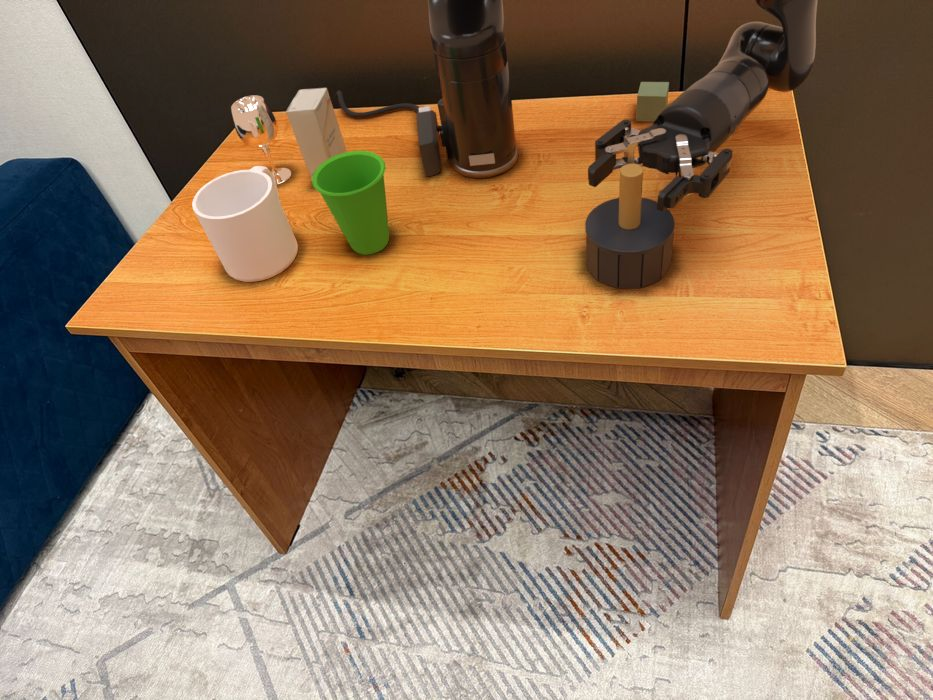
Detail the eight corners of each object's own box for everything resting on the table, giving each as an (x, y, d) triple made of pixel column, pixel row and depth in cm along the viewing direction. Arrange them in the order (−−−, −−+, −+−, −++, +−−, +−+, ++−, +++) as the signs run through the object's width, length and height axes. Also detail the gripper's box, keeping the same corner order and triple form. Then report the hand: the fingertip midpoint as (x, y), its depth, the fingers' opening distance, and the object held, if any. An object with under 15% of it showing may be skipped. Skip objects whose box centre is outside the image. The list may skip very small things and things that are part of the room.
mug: (277, 286, 88) (247, 222, 81) (211, 279, 91) (176, 216, 83) (319, 224, 96) (295, 159, 88) (256, 219, 99) (228, 156, 91)
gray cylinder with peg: (570, 272, 82) (566, 183, 73) (611, 225, 87) (612, 135, 78) (646, 300, 77) (653, 208, 68) (685, 248, 82) (696, 156, 73)
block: (636, 121, 101) (637, 95, 98) (639, 106, 104) (640, 81, 101) (664, 122, 100) (666, 96, 97) (667, 107, 103) (669, 81, 100)
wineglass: (251, 185, 105) (219, 113, 96) (271, 164, 108) (242, 92, 99) (282, 190, 103) (252, 116, 94) (302, 167, 106) (275, 94, 97)
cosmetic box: (340, 186, 101) (315, 110, 92) (312, 187, 102) (284, 112, 93) (351, 161, 105) (328, 86, 96) (324, 163, 106) (298, 88, 97)
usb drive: (418, 145, 96) (438, 141, 96) (415, 102, 104) (433, 99, 104) (425, 177, 100) (444, 174, 100) (421, 133, 108) (439, 130, 108)
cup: (414, 224, 93) (396, 152, 85) (387, 269, 87) (366, 197, 79) (354, 217, 96) (331, 147, 87) (325, 261, 90) (298, 191, 82)
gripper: (650, 74, 82) (568, 142, 75) (767, 103, 74) (689, 181, 67) (646, 131, 87) (570, 199, 80) (755, 163, 80) (682, 241, 73)
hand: (624, 191), depth 74 cm, fingers open, 8 cm apart
